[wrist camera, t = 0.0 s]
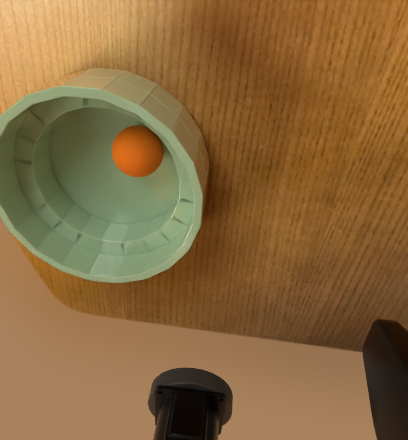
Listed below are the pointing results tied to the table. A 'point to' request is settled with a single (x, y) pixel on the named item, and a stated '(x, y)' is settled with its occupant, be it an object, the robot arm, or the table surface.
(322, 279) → the table surface
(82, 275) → the bowl
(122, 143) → the bead
